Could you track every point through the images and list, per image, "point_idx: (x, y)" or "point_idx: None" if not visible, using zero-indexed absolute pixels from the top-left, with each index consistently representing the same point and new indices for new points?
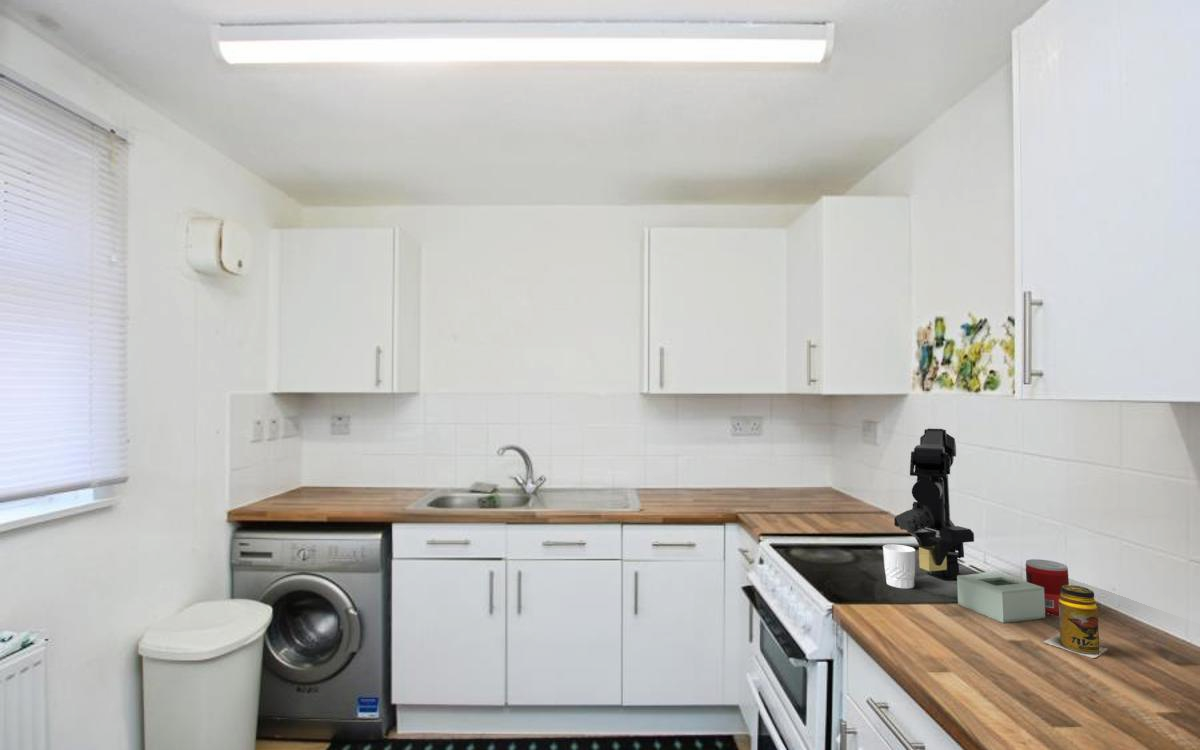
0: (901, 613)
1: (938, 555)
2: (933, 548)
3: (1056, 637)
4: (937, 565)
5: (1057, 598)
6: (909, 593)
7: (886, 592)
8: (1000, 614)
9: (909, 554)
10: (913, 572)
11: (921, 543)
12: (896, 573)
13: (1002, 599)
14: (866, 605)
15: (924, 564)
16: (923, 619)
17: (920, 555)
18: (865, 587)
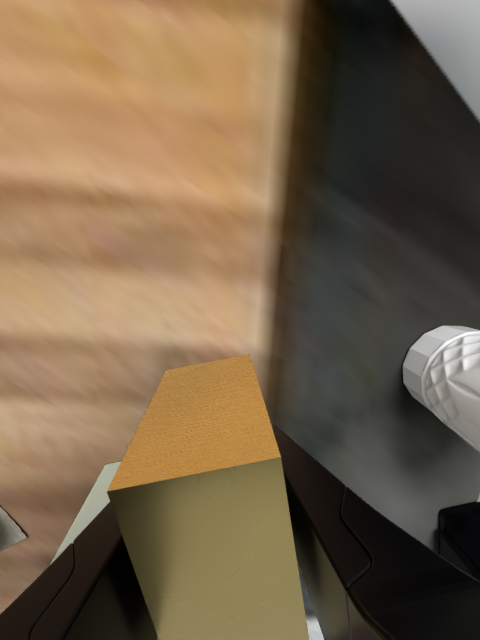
0: (183, 201)
1: (94, 520)
2: (192, 580)
3: (6, 523)
4: None
5: None
6: (362, 348)
7: (385, 275)
8: (105, 480)
9: None
10: (444, 420)
11: (327, 546)
12: (459, 353)
13: (69, 531)
14: (270, 106)
15: (202, 377)
16: (126, 247)
17: (243, 401)
18: (447, 226)
